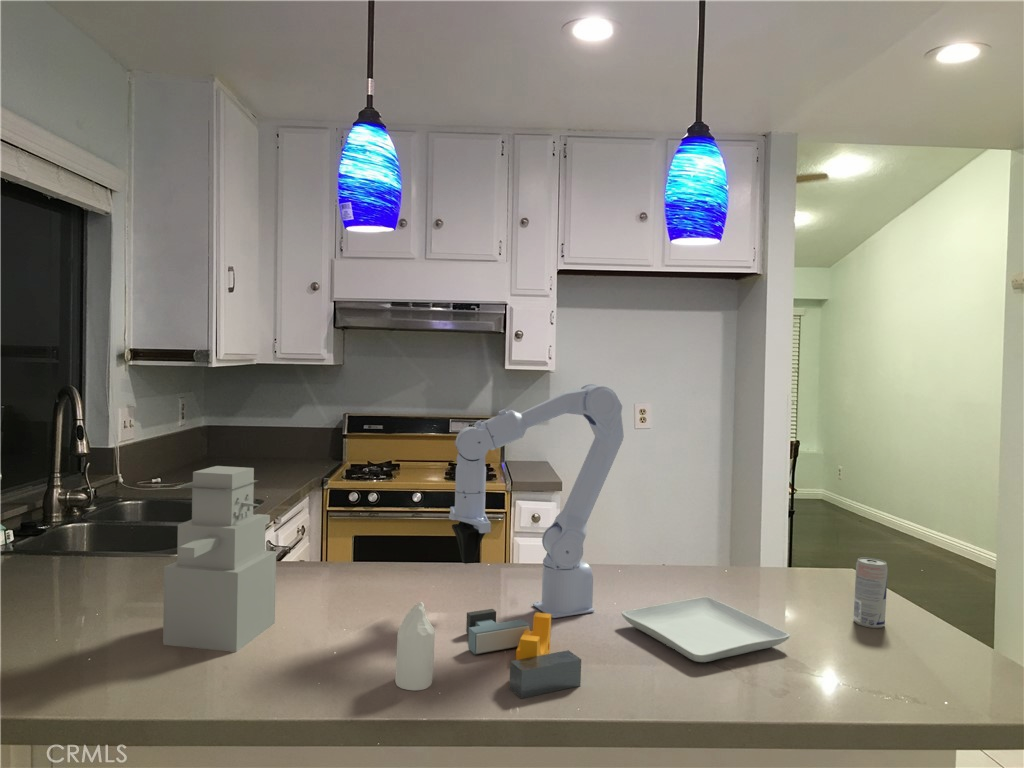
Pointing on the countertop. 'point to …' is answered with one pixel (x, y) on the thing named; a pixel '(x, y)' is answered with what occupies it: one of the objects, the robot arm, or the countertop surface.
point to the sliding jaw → (492, 632)
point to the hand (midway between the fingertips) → (468, 562)
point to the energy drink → (870, 592)
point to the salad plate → (705, 628)
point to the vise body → (545, 674)
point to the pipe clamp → (536, 638)
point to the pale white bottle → (415, 651)
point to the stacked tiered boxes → (220, 566)
